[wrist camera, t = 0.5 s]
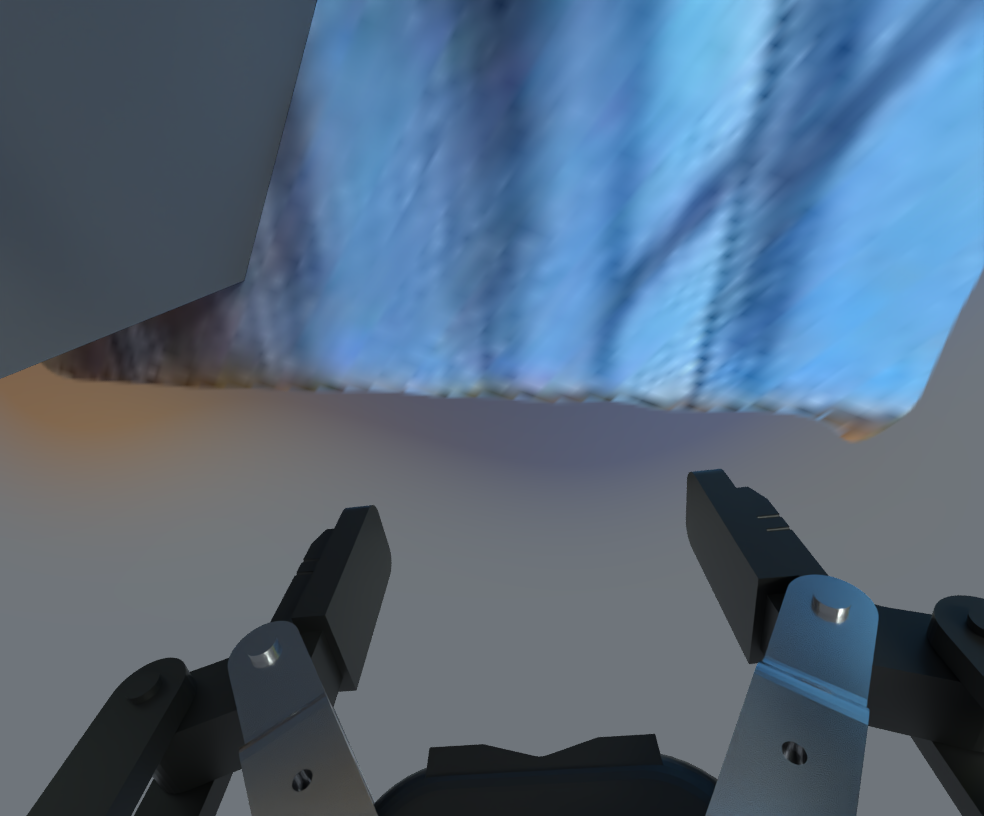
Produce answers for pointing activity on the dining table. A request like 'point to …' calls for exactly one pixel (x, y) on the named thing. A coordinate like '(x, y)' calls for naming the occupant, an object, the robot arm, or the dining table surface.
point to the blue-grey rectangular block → (133, 157)
